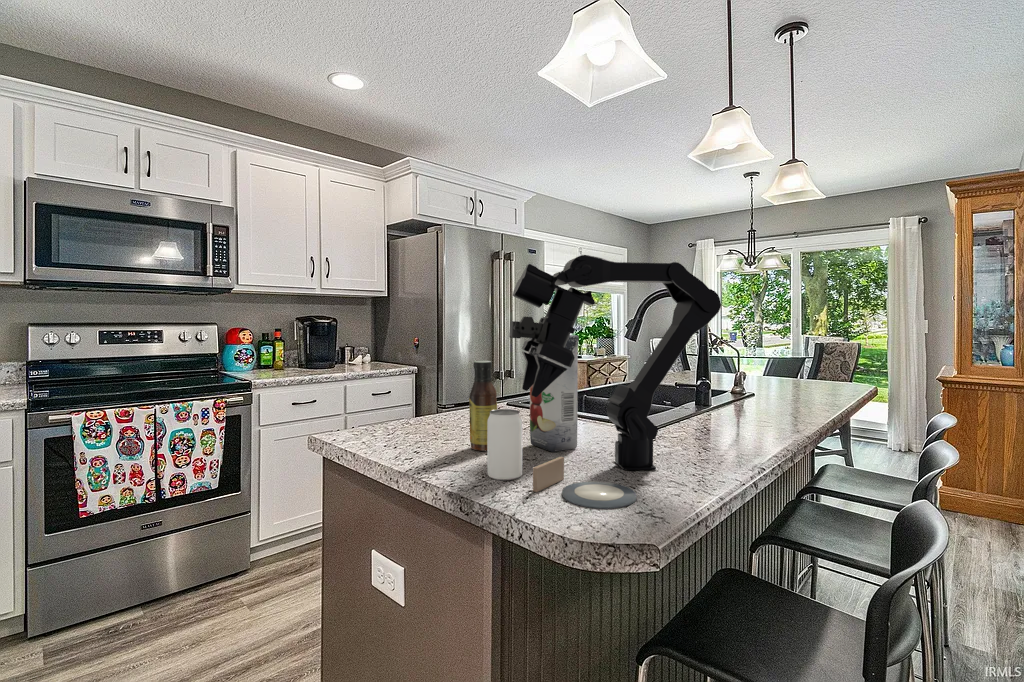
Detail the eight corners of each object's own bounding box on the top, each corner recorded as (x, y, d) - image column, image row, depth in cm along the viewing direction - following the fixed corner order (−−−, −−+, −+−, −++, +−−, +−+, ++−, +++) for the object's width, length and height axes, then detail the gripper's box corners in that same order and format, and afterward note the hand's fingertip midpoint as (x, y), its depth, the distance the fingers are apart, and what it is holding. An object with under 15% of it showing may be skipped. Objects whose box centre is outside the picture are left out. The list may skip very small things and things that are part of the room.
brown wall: (560, 478, 95) (560, 456, 95) (563, 479, 95) (563, 457, 95) (533, 491, 88) (532, 467, 88) (536, 492, 88) (536, 468, 87)
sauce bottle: (477, 444, 122) (477, 359, 121) (502, 446, 120) (501, 360, 119) (464, 450, 116) (464, 361, 115) (489, 453, 114) (489, 362, 113)
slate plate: (625, 483, 92) (625, 480, 92) (646, 507, 80) (646, 503, 80) (557, 484, 91) (557, 481, 91) (568, 509, 79) (568, 505, 79)
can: (484, 480, 94) (483, 414, 94) (491, 470, 101) (491, 408, 100) (519, 481, 93) (519, 415, 93) (524, 471, 100) (524, 409, 99)
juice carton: (556, 440, 126) (556, 328, 125) (583, 449, 117) (583, 329, 116) (524, 444, 122) (524, 328, 121) (550, 454, 113) (550, 329, 112)
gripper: (514, 302, 108) (485, 372, 107) (532, 298, 90) (496, 382, 89) (562, 324, 110) (533, 392, 109) (589, 324, 91) (555, 406, 91)
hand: (528, 392), depth 99 cm, fingers open, 9 cm apart
